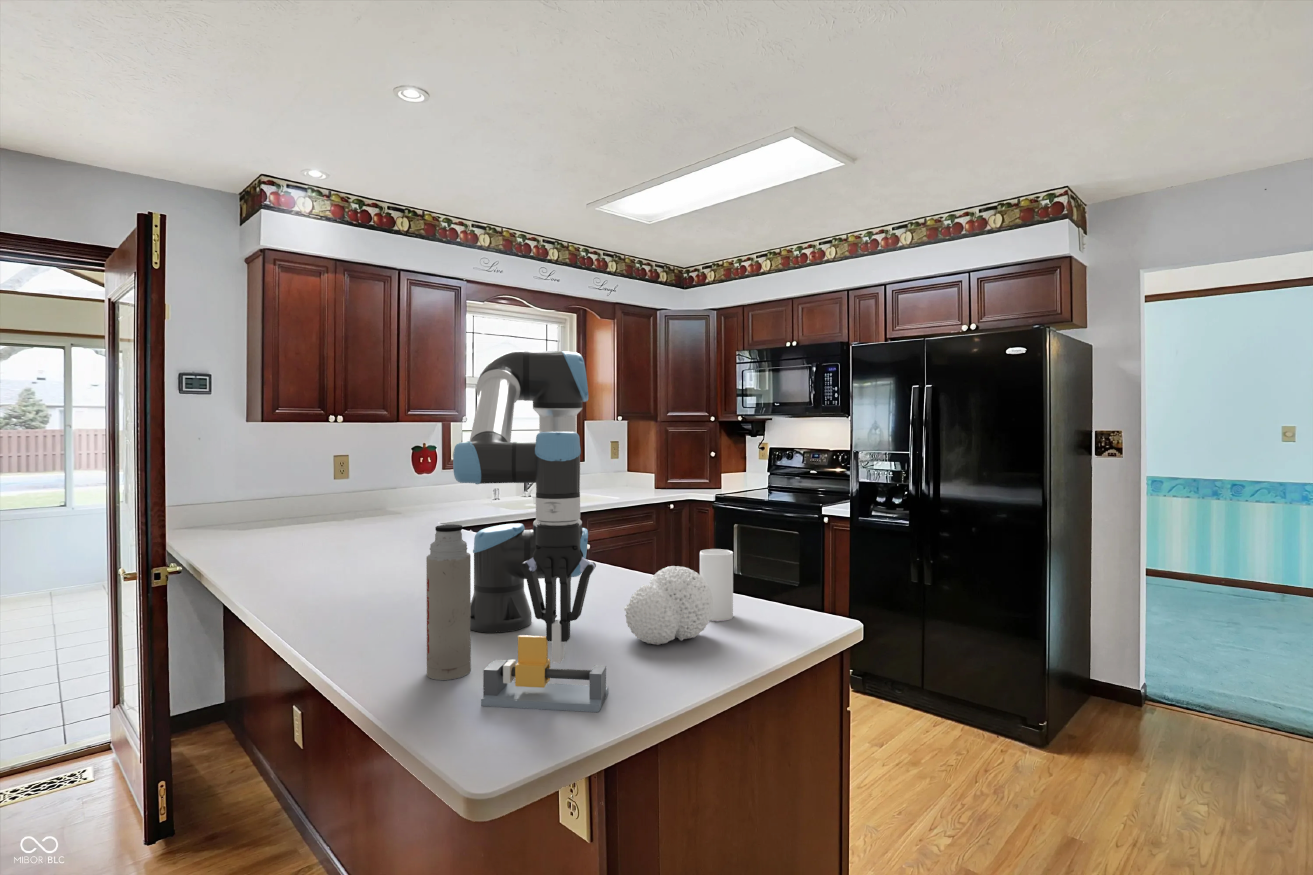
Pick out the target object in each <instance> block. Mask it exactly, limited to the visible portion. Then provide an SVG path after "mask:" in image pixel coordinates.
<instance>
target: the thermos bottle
mask: <svg viewBox="0 0 1313 875" xmlns="http://www.w3.org/2000/svg"><path fill="white" fill-rule="evenodd" d="M462 530H463V525H462V524H441V525H437V526H435V534H434V538H435V539H434V541H432V542H431V544H430V547H429V551H430V554H428V555H426V558H425V560H426V677H427V678H429V679H432V680H436V681H447V680H455V679H456V680H457V679H460V678H463V677H465V676H467V675H468V674H470V673H471V669H472V668H471V666H472V663H471V661H472V659H471V658H472V657H471V655H472V653H471V652H472V650H471V649H472V647H471V645H472V642H471V641H472V639H471V630H470V618H471V600H472V598H471V597H472V596H471V595H472V594H471V593H472V591H471V586H472V584H471V577H472V576H471V574H472V573H471V572H472V571H471V569H472V568H471V562H472V561H471V553H469V552H467V551H468V547H467V546H468V543H467V542H466V541H465V540H463V533H462Z"/></svg>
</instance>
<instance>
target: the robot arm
mask: <svg viewBox="0 0 1313 875" xmlns="http://www.w3.org/2000/svg"><path fill="white" fill-rule="evenodd" d="M588 385H589V384H588V379H587V370H586V365H585V360H584V358H583V356H582V354H580V353H578V352H574V351H567V350H566V351H564V350H562V351H557V350H555V351H553V350H513V351H509V352H506V353H504V354H502V355H500V356H498V357H496V358H494V359H493V360H492V361H490V362H489V363H488V364H487V365H486V366H485V367H484V368H482V370H481V372H480V374H479V376H478V379H477V382H476V385H475V388H476V389H475V390H476V395H477V397H478V399H477V404H476V409H475V414H474V419H473V422H472V423H473V424H472V427H471V432H470V437H469V438H470V439H469V440H468V441H462V442H458V443H456V444H455V445H454V449H453V456H452V457H453V458H452V462H453V463H452V467H453V468H452V469H453V476H454V479H455V480H456V481H457V482H458V483H460V484H475V485H480V484H482V485H483V484H485V485H486V484H535V520H534V521H533V523H532V526H533V528H532V529H526V528H525V525H524V524H523V523H519V522H518V523H506V524H499V525H493V526H490V527H485V528H483V529H480V530H479V531H477V532H476V533H475V534H474V538H473V549H472V553H473V594H472V596H471V597H472V598H471V618H470V631H474V632H478V633H490V634H492V633H494V634H495V633H496V634H497V633H506V632H507V633H508V632H513V631H518V630H521V629H524V628H526V627H528V626H530V625H531V624H532V621H533V620H532V617H533V616H532V609H531V606H530V605H529V602H528V601H529V600H528V598H527V595H526V592H525V580H526V583H527V588H528V591H529V596H530V599H531V605H532V608H533V613H534V617H535V619H536V620H542V621H544V622H545V626H546V627H545V629H546V630H545V633H546V634H545V636H546V639H547V641H548V642H551V663H553V664H554V663H555V664H556V663H557V664H558V663H559V664H561V663H562V662H563V660H564V659H565V657H566V656H565V654H566V653H565V646H566V644H565V643H567V642H568V641H569V640H570V638H571V622H572V621H577V620H578V619H579V617H580V616H581V615H582V611H583V606H584V603H585V598H586V596H587V595H586V594H587V591H588V585H589V582H590V577H591V575H592V573H593V572H594V570H595V569H596V567H597V564H596V562H594V561H589V560H588V559H587V551H588V542H589V541H588V538H589V530H588V529H587V528H586V527H583V521H582V520H581V489H580V488H581V485H580V484H581V482H580V481H581V453H582V450H581V441H580V438H581V437H580V435H579V434H578V432H577V426H576V425H577V416H578V414H579V413H580V412H581V411H582V410H583V402H584V403H586V402H588V400H589V387H588ZM518 401H527V402H529V401H532V409H533V411H534V412H535V413H537V415H538V418H539V419H538V420H539V427H538V428H539V432H538V433H537V434H536V436H535V441H512V440H511V439H512V432H513V431H512V429H513V421H514V420H513V419H514V409H515V403H517V402H518ZM577 577H579V581H578V585H577V589H576V593H575V596H574V597H575V598H574V600H573V606H571V605H572V601H571V600H572V589H571V587H572V586H571V585H572V583H571V581H572V578H577ZM540 579H544V585H545V586H544V587H545V592H544V594H545V595H544V596H545V601H544V598H543V597H544V596H543V594H542V589H541V585H540ZM557 579H559V589H560V590H559V597H560V598H559V602H560V604H559V610H560V611H559V614H560V615H559V617H560V618H559V619H557V617H558V614H557Z"/></svg>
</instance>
